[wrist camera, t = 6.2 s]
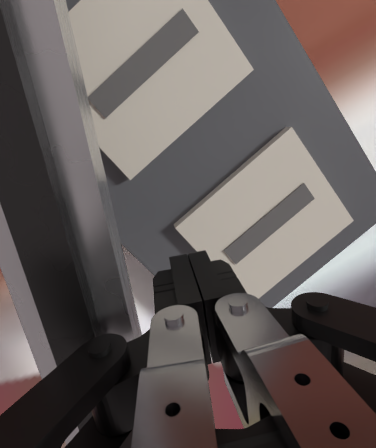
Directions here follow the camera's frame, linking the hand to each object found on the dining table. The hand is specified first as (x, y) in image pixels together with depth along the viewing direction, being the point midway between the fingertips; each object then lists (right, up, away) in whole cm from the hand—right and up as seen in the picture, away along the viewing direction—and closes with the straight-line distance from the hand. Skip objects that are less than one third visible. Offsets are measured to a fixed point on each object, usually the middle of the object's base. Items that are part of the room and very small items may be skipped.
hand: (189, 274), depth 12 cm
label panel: (+1, +6, +4) cm, 7 cm away
